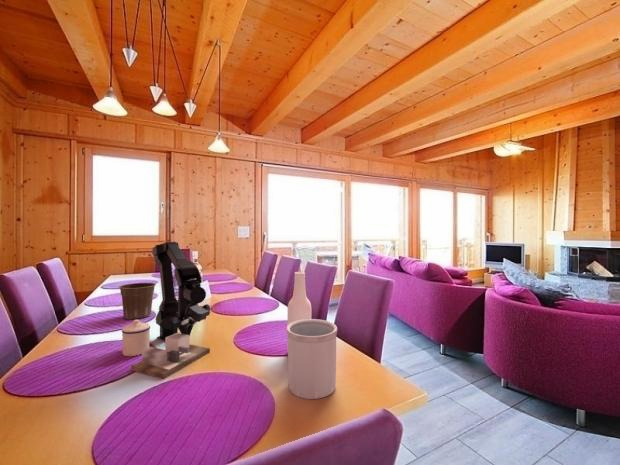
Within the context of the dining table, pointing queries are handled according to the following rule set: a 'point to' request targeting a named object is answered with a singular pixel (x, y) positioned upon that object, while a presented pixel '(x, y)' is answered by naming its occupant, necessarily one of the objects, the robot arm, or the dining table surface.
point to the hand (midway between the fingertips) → (186, 340)
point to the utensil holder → (312, 358)
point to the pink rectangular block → (177, 343)
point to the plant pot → (137, 299)
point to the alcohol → (298, 301)
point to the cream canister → (135, 338)
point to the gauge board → (169, 372)
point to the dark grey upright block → (174, 356)
